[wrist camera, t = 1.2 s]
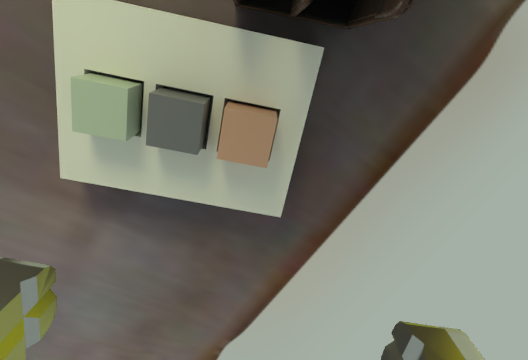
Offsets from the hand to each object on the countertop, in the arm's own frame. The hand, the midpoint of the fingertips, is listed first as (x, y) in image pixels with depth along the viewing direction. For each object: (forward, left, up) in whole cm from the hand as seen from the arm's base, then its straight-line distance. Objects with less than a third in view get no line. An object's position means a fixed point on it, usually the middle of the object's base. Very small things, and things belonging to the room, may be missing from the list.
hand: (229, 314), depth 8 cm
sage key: (+1, -11, -21) cm, 24 cm away
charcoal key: (+1, -6, -21) cm, 22 cm away
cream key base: (+1, -6, -24) cm, 25 cm away
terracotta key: (+1, 0, -21) cm, 21 cm away
